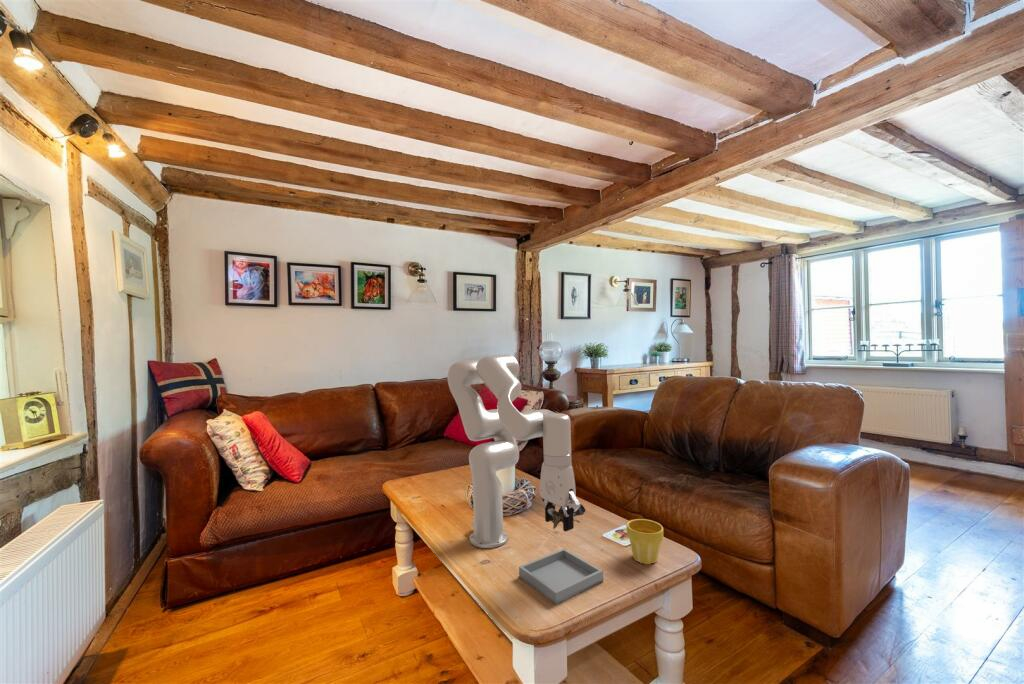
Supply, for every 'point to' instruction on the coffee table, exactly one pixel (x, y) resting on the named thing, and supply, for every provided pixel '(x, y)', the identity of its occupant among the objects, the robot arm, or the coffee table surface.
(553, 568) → the bin
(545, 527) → the coffee table surface
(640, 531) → the plant pot
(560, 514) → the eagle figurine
